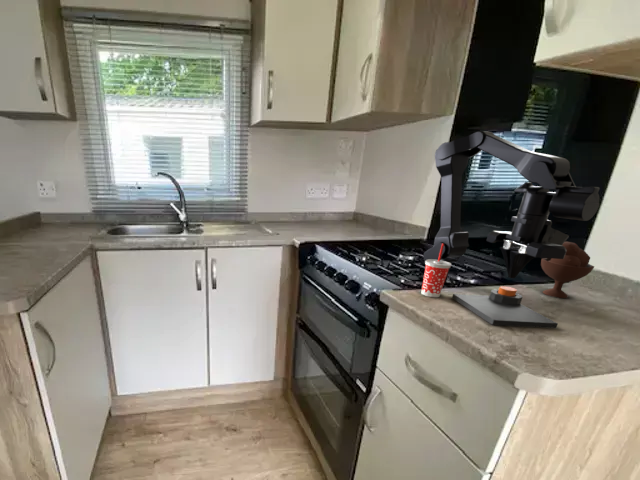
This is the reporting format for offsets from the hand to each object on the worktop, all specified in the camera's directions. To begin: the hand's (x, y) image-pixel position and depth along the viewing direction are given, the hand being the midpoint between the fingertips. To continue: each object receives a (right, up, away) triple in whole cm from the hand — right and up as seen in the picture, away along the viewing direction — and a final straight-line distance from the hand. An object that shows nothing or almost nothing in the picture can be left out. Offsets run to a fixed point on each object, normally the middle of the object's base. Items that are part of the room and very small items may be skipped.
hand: (511, 277), depth 88 cm
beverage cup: (-16, -4, +8) cm, 19 cm away
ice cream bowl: (+22, -4, +12) cm, 25 cm away
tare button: (0, -4, +2) cm, 5 cm away
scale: (-5, -8, -3) cm, 10 cm away
